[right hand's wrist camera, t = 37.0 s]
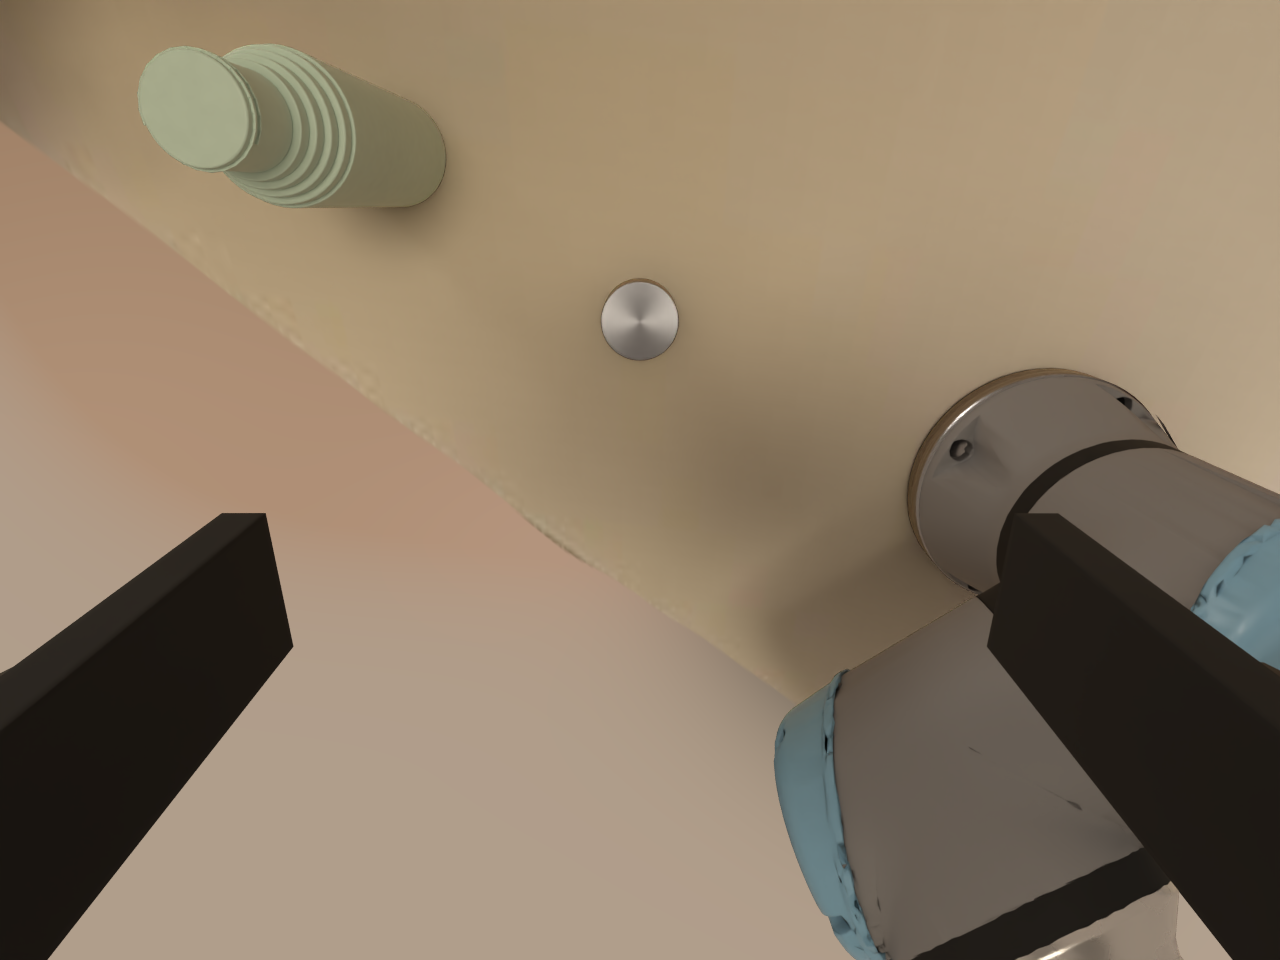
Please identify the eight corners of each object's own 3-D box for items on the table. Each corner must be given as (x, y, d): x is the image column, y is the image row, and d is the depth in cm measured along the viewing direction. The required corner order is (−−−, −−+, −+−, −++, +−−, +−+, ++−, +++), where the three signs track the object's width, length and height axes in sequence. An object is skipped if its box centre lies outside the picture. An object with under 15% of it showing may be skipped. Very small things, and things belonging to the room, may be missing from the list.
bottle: (434, 90, 38) (256, -9, 20) (455, 201, 40) (308, 198, 22) (333, 102, 38) (68, 13, 21) (358, 212, 40) (136, 217, 23)
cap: (599, 348, 43) (597, 355, 41) (606, 273, 42) (605, 277, 40) (671, 357, 43) (672, 364, 41) (681, 283, 42) (683, 286, 40)
